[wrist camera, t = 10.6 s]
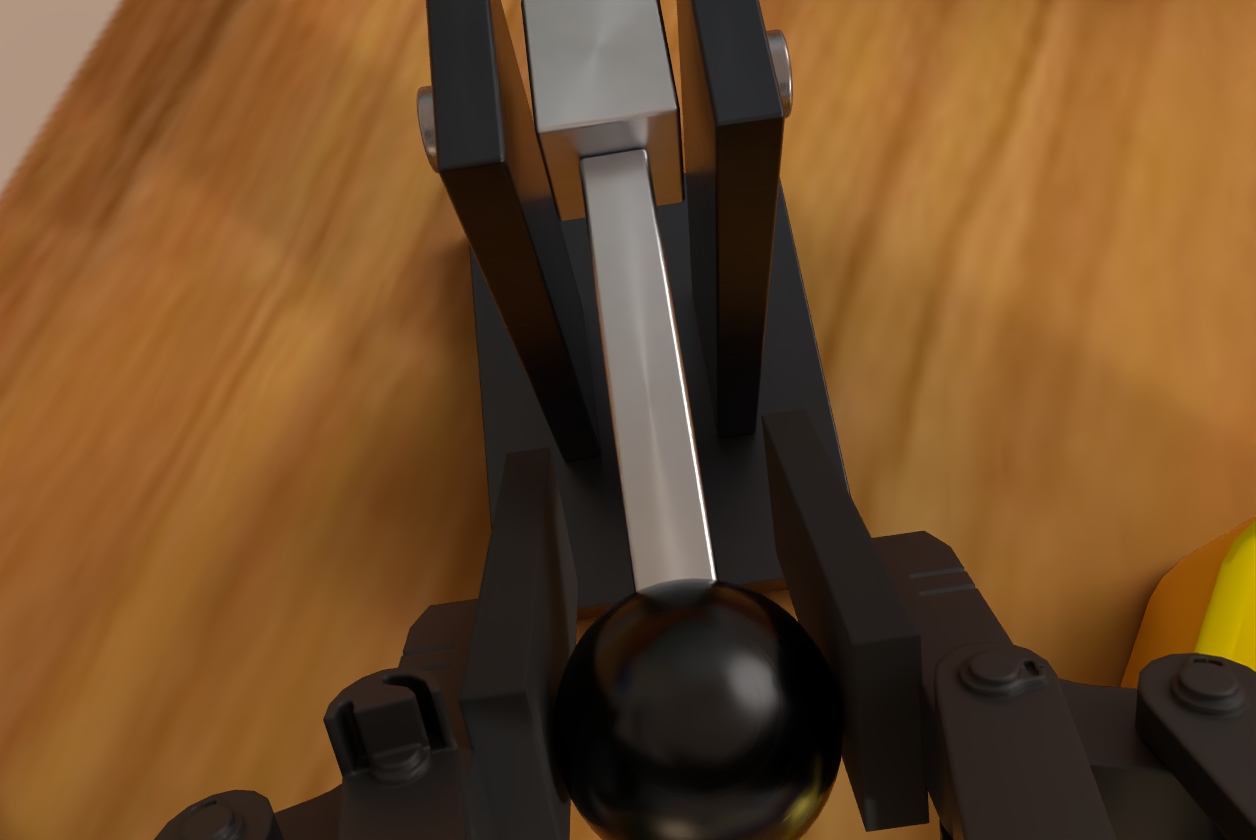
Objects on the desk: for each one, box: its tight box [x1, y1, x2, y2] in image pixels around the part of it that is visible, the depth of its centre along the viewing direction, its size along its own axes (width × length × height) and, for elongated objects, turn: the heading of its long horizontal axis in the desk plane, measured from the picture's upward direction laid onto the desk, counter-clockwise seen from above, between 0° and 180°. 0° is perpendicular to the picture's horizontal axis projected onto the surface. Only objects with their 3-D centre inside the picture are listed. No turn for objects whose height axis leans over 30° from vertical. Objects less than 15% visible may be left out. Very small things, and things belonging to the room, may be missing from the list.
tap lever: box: [521, 0, 843, 840], centre depth 15 cm, size 13×4×4 cm, turn 7°
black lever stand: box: [417, 0, 851, 620], centre depth 21 cm, size 12×9×14 cm
